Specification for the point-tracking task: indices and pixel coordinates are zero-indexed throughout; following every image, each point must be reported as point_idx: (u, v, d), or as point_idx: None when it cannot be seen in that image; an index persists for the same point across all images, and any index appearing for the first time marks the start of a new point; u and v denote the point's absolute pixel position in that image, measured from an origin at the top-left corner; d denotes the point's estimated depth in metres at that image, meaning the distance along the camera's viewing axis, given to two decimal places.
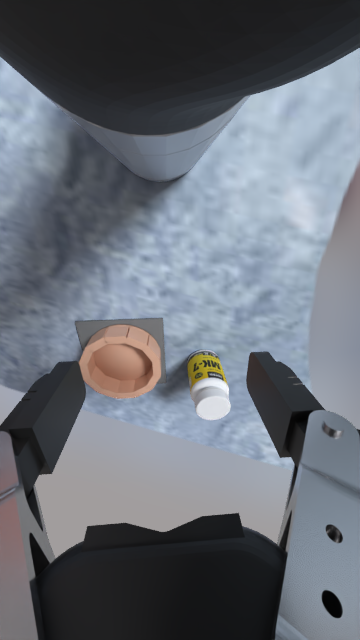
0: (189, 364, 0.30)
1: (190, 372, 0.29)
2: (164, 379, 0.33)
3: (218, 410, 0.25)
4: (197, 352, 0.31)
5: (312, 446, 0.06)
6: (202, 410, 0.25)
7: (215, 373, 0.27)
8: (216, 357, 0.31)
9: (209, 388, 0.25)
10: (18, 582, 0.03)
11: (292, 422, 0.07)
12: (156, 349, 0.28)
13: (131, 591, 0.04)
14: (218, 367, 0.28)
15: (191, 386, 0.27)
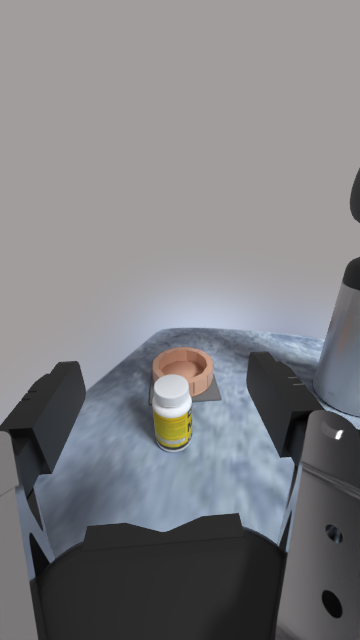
0: None
1: None
2: None
3: (168, 389, 0.25)
4: None
5: (312, 446, 0.06)
6: (169, 378, 0.26)
7: (191, 410, 0.26)
8: (188, 439, 0.27)
9: None
10: (18, 582, 0.03)
11: (292, 422, 0.07)
12: (198, 386, 0.34)
13: (131, 591, 0.04)
14: (189, 424, 0.26)
15: None
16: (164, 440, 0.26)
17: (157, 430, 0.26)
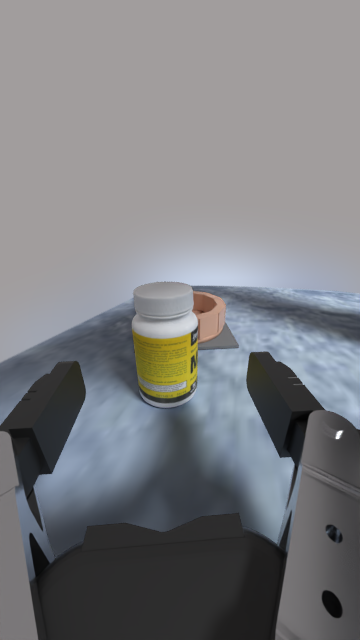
0: None
1: None
2: None
3: (158, 291, 0.14)
4: None
5: (312, 446, 0.06)
6: (161, 284, 0.16)
7: (197, 335, 0.15)
8: (191, 387, 0.16)
9: None
10: (18, 582, 0.03)
11: (292, 422, 0.07)
12: (205, 326, 0.23)
13: (131, 591, 0.04)
14: (193, 359, 0.15)
15: None
16: (151, 385, 0.15)
17: (140, 369, 0.16)
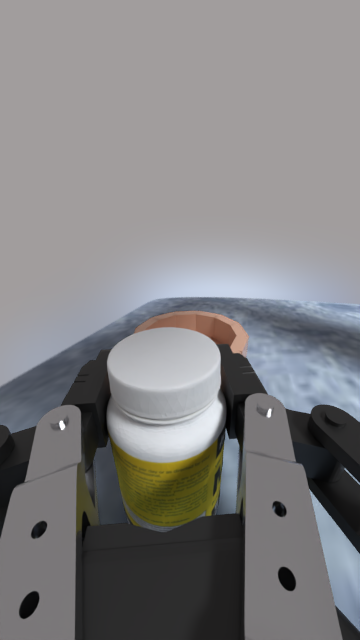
0: None
1: None
2: None
3: (154, 361, 0.07)
4: None
5: (251, 430, 0.06)
6: (160, 335, 0.09)
7: None
8: (212, 512, 0.09)
9: None
10: (67, 562, 0.03)
11: (235, 405, 0.08)
12: None
13: (131, 591, 0.04)
14: (218, 474, 0.09)
15: None
16: (142, 521, 0.08)
17: (122, 489, 0.09)
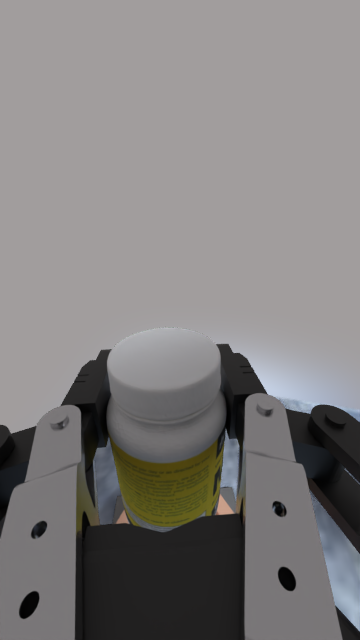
0: None
1: None
2: None
3: (154, 361, 0.07)
4: None
5: (251, 430, 0.06)
6: (160, 335, 0.09)
7: None
8: (212, 512, 0.09)
9: None
10: (67, 562, 0.03)
11: (235, 405, 0.08)
12: None
13: (131, 591, 0.04)
14: (218, 474, 0.09)
15: None
16: (142, 521, 0.08)
17: (122, 490, 0.09)
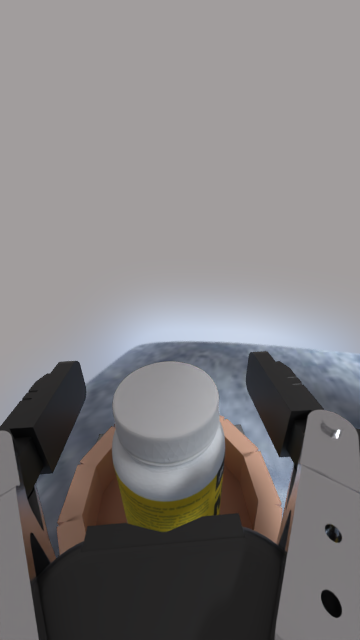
0: None
1: None
2: None
3: (157, 404, 0.08)
4: None
5: (311, 446, 0.06)
6: (162, 371, 0.09)
7: None
8: None
9: None
10: (19, 581, 0.03)
11: (291, 422, 0.07)
12: None
13: (131, 591, 0.04)
14: (217, 502, 0.09)
15: None
16: None
17: (128, 518, 0.09)
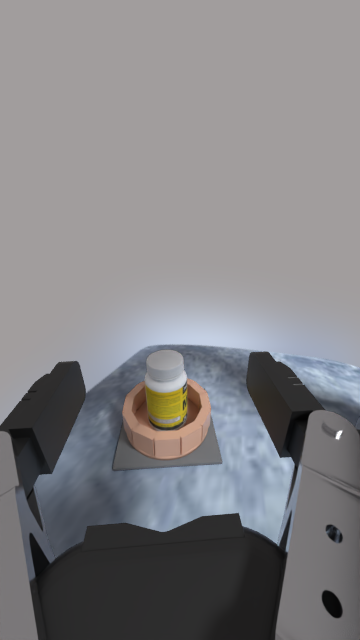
0: None
1: None
2: (120, 466, 0.22)
3: (162, 362, 0.23)
4: None
5: (312, 446, 0.06)
6: (163, 353, 0.25)
7: (186, 386, 0.24)
8: (183, 419, 0.25)
9: None
10: (18, 582, 0.03)
11: (292, 422, 0.07)
12: (188, 442, 0.22)
13: (131, 591, 0.04)
14: (184, 402, 0.24)
15: None
16: (157, 419, 0.24)
17: (150, 409, 0.24)
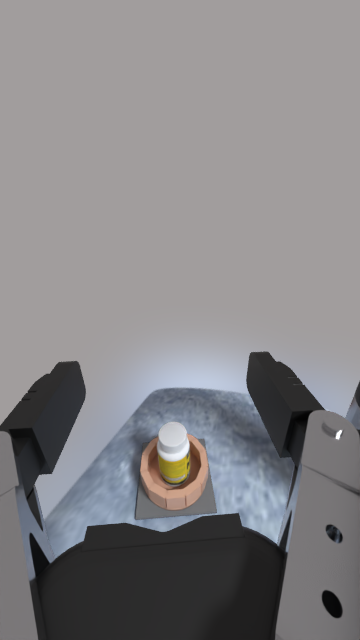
0: None
1: None
2: (140, 516, 0.30)
3: (170, 437, 0.30)
4: None
5: (312, 446, 0.06)
6: (170, 426, 0.32)
7: (189, 451, 0.32)
8: (187, 475, 0.33)
9: None
10: (18, 582, 0.03)
11: (292, 422, 0.07)
12: (191, 497, 0.30)
13: (131, 591, 0.04)
14: (187, 463, 0.32)
15: None
16: (168, 477, 0.32)
17: (162, 469, 0.32)
